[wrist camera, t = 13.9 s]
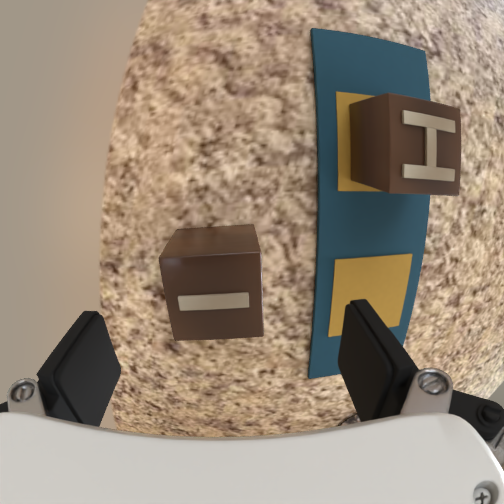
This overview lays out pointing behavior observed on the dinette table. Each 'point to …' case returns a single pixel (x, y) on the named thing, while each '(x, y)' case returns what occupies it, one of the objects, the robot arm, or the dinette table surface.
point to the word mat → (361, 195)
